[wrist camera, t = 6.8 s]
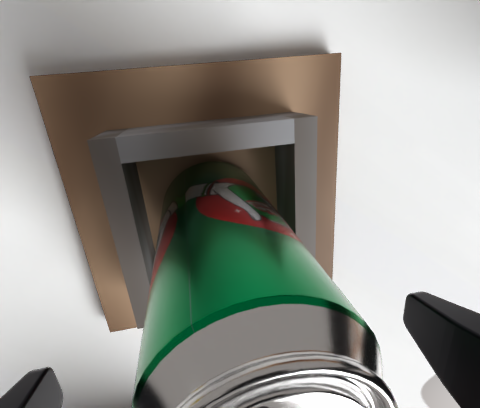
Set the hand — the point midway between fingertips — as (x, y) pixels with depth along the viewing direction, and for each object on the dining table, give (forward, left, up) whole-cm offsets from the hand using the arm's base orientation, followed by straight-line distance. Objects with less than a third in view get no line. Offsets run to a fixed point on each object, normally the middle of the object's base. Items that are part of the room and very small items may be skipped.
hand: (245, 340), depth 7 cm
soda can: (0, 0, -9) cm, 9 cm away
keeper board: (0, 0, -10) cm, 10 cm away
